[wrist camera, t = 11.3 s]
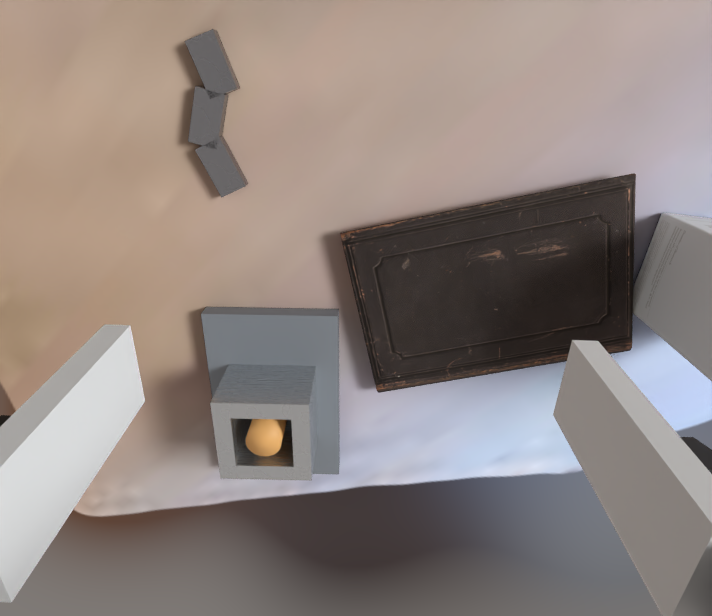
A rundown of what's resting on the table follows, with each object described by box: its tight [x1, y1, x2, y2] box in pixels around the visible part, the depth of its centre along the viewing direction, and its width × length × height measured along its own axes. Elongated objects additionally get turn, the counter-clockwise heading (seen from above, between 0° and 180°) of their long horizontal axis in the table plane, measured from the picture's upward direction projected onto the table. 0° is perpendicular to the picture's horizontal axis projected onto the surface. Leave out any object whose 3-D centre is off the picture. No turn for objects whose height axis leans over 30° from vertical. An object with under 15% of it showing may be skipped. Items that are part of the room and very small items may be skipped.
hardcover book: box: [341, 174, 636, 392], centre depth 43 cm, size 16×23×2 cm
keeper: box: [201, 307, 339, 474], centre depth 45 cm, size 18×12×8 cm, turn 179°
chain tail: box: [185, 29, 248, 197], centre depth 37 cm, size 12×4×1 cm, turn 179°
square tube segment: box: [210, 364, 318, 480], centre depth 44 cm, size 8×8×6 cm
